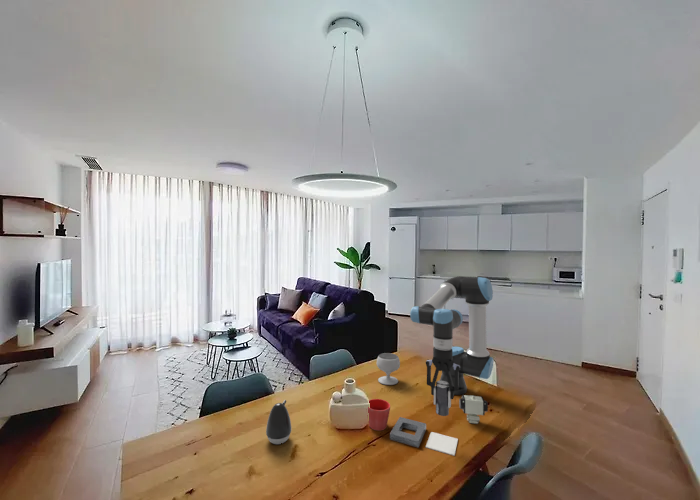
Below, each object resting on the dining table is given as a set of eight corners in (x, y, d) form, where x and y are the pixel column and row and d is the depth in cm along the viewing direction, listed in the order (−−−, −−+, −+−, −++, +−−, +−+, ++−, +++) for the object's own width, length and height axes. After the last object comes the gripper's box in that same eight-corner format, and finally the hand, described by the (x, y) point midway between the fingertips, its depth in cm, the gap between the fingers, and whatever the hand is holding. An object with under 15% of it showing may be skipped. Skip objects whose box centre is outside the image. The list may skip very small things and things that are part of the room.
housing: (399, 422, 140) (399, 416, 140) (426, 429, 134) (426, 423, 134) (389, 439, 127) (389, 433, 127) (418, 447, 122) (418, 441, 122)
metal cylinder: (437, 408, 128) (437, 379, 128) (449, 411, 126) (449, 382, 126) (434, 414, 123) (435, 384, 123) (447, 417, 121) (447, 387, 121)
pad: (431, 432, 132) (431, 431, 132) (457, 439, 127) (457, 438, 127) (425, 447, 122) (425, 446, 122) (454, 455, 117) (454, 454, 117)
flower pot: (376, 416, 145) (376, 396, 145) (394, 426, 137) (395, 404, 137) (360, 425, 137) (361, 403, 137) (379, 436, 129) (379, 413, 129)
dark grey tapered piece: (296, 435, 130) (296, 399, 130) (283, 450, 120) (283, 412, 120) (275, 430, 133) (275, 395, 133) (260, 445, 123) (261, 407, 123)
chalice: (377, 375, 191) (377, 351, 191) (399, 377, 189) (399, 352, 189) (375, 385, 177) (376, 359, 177) (400, 387, 175) (400, 361, 175)
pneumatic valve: (487, 426, 137) (488, 399, 137) (460, 423, 139) (460, 396, 139) (485, 419, 142) (485, 393, 142) (458, 416, 145) (458, 391, 145)
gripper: (418, 347, 125) (418, 403, 125) (465, 353, 117) (464, 414, 117) (422, 342, 132) (422, 395, 132) (467, 348, 124) (466, 405, 124)
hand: (442, 404), depth 124 cm, fingers closed on metal cylinder, 5 cm apart
